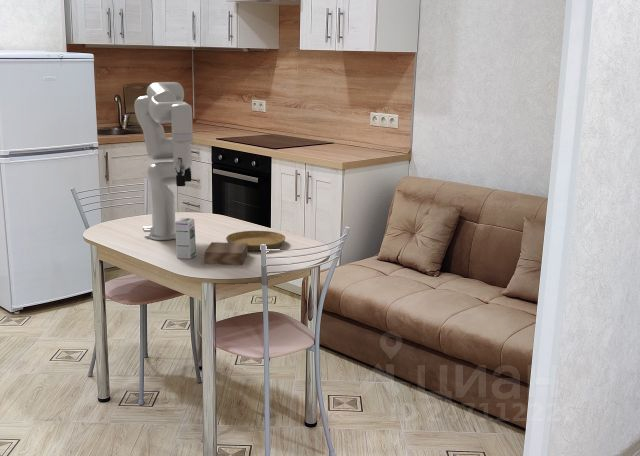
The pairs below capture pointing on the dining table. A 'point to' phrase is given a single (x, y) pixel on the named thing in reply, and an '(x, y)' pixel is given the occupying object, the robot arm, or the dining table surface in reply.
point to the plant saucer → (257, 239)
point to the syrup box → (185, 238)
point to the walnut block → (226, 253)
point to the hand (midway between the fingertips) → (184, 183)
